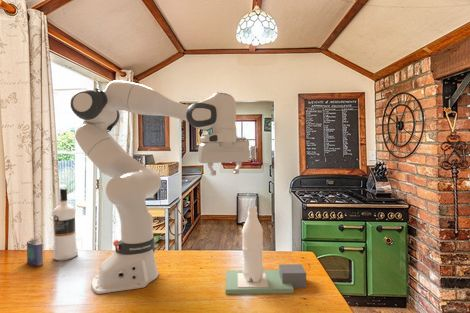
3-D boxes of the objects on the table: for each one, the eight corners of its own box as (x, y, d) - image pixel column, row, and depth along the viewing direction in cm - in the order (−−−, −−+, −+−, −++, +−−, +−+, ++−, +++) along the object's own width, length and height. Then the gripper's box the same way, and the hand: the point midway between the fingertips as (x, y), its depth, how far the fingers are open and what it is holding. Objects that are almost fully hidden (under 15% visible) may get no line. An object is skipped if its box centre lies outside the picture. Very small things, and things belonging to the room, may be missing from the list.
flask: (44, 264, 118) (43, 238, 117) (36, 267, 115) (35, 241, 115) (32, 260, 122) (31, 235, 122) (24, 263, 120) (23, 237, 119)
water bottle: (256, 285, 95) (256, 210, 94) (238, 280, 99) (237, 208, 98) (267, 277, 101) (266, 206, 100) (249, 272, 105) (249, 204, 104)
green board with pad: (225, 294, 93) (225, 278, 93) (226, 274, 107) (226, 261, 107) (309, 293, 93) (309, 277, 93) (299, 273, 107) (299, 260, 107)
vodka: (82, 255, 127) (80, 187, 126) (60, 262, 119) (57, 190, 118) (70, 251, 132) (68, 186, 131) (48, 258, 124) (46, 189, 123)
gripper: (244, 137, 114) (245, 172, 115) (195, 137, 105) (196, 175, 106) (253, 137, 109) (253, 173, 109) (202, 137, 99) (202, 177, 100)
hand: (224, 174), depth 108 cm, fingers open, 8 cm apart
